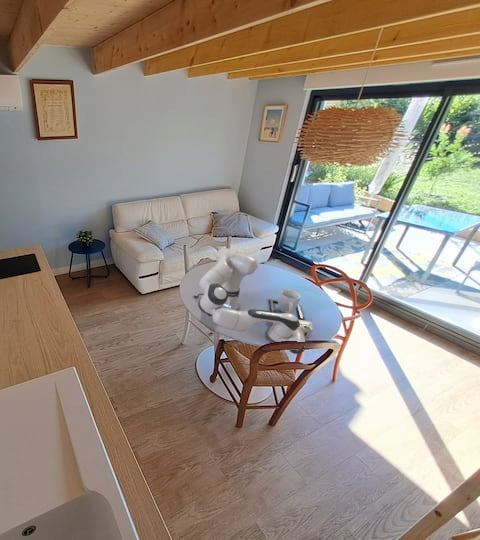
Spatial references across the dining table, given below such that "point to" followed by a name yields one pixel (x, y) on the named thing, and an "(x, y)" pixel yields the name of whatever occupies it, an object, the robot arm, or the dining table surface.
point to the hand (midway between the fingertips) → (290, 315)
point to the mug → (288, 300)
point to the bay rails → (277, 302)
